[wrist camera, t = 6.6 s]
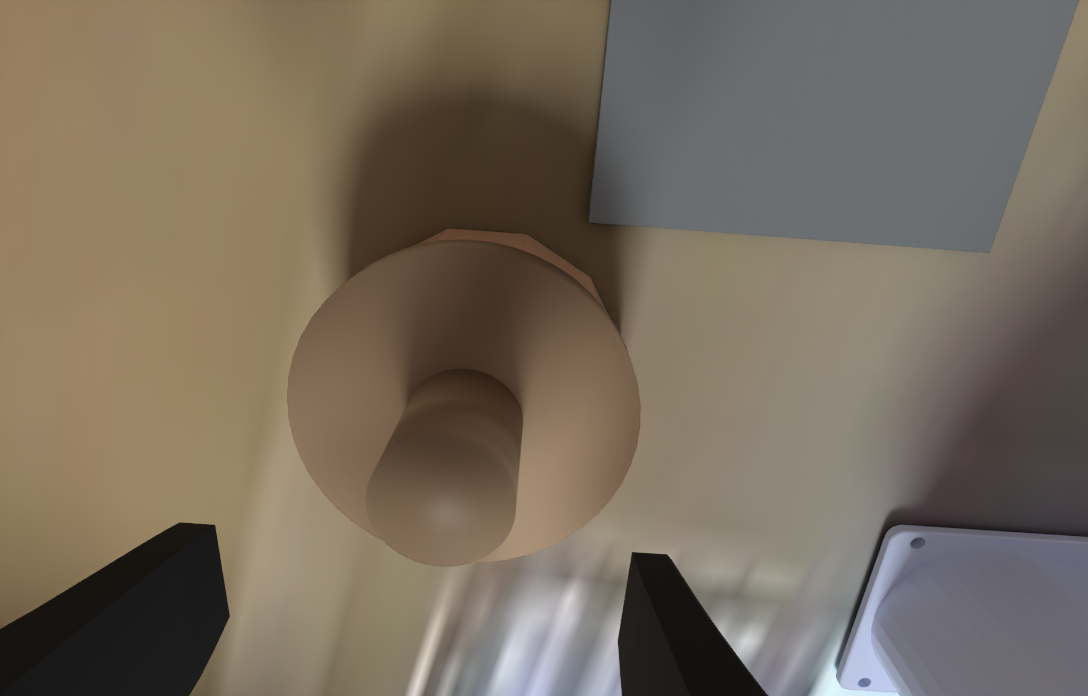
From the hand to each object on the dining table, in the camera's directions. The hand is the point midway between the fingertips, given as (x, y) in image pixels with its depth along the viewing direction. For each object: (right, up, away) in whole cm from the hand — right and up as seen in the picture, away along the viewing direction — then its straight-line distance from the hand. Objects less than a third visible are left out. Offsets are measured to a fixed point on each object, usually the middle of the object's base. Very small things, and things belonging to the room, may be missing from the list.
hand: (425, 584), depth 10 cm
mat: (+10, +13, +5) cm, 17 cm away
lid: (0, +3, +6) cm, 6 cm away
